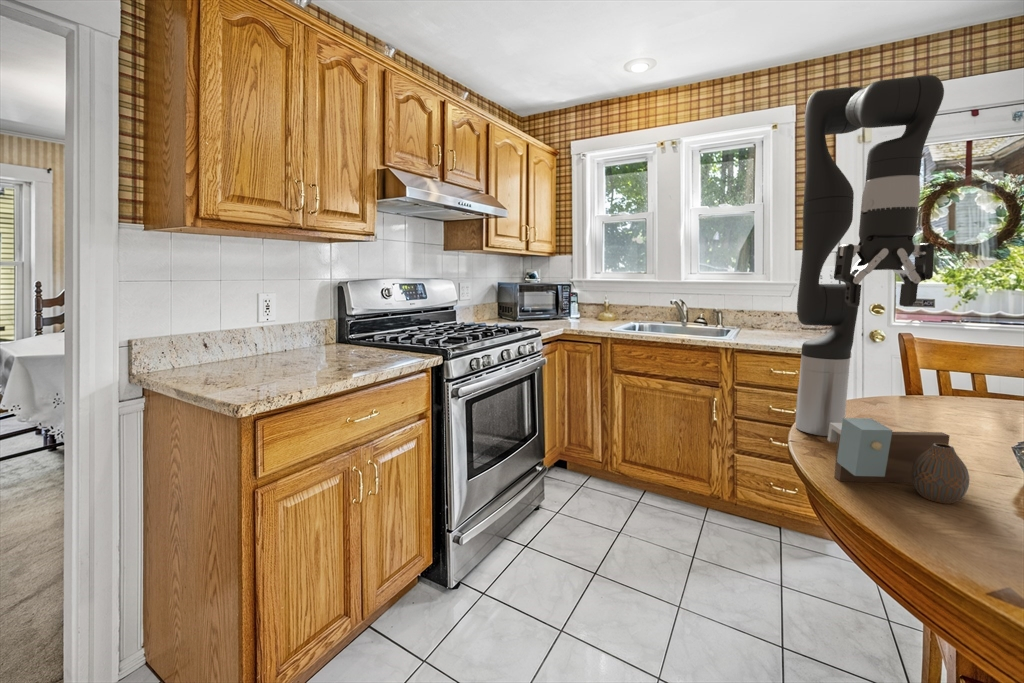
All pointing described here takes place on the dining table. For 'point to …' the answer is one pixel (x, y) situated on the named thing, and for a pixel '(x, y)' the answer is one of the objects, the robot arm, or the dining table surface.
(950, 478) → the vase
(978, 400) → the dining table surface
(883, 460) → the cabinet
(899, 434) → the wall board
